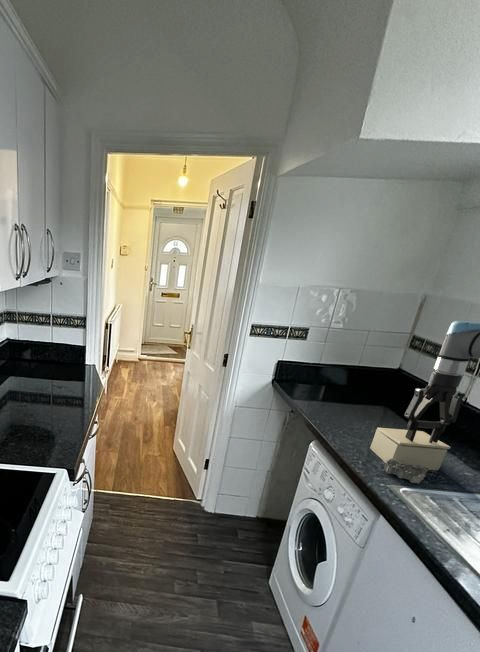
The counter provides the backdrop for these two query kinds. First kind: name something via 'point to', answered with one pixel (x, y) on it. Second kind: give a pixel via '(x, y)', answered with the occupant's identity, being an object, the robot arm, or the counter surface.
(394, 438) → the box lid
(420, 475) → the egg carton
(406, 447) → the beige open box
